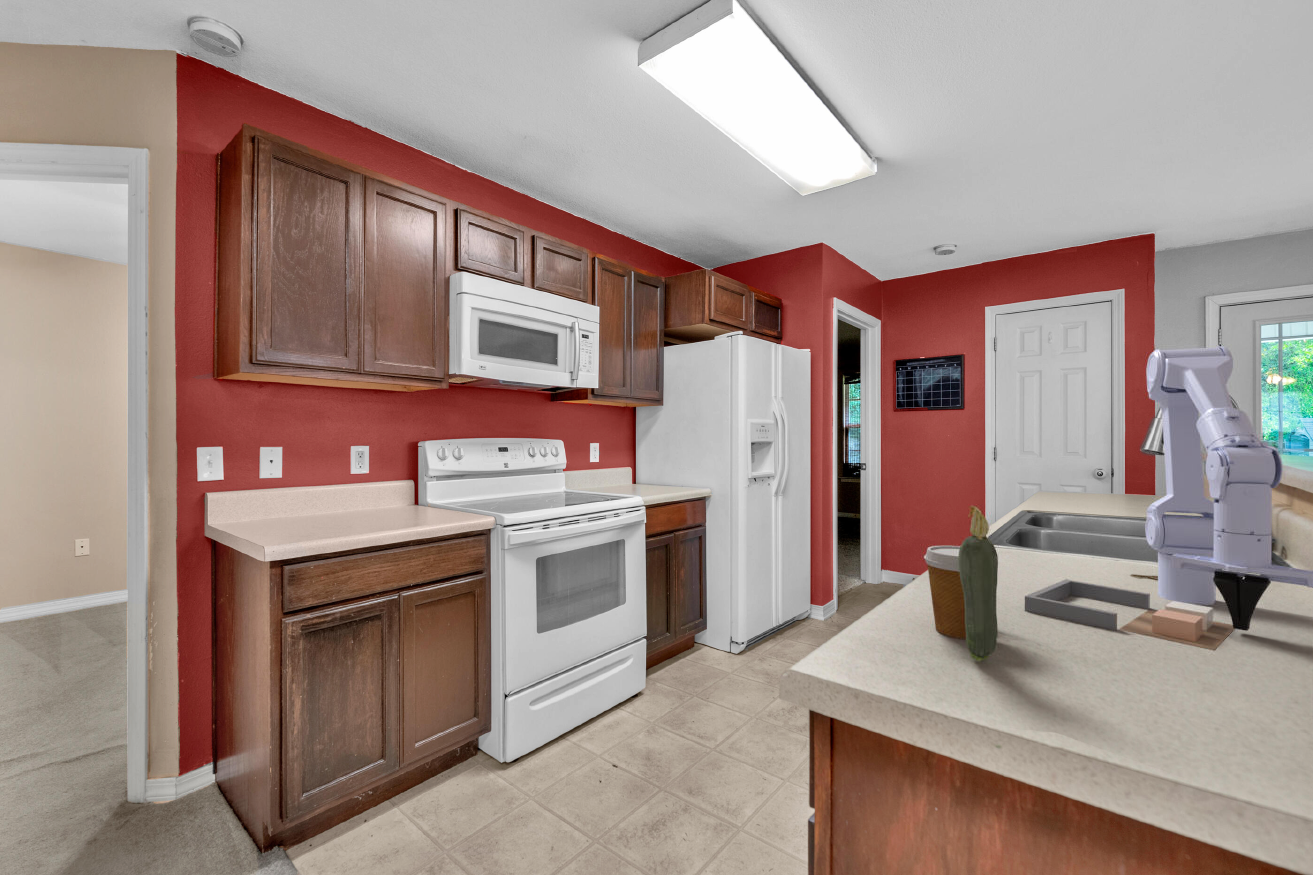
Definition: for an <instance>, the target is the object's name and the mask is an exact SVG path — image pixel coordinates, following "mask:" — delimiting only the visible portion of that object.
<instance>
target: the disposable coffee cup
mask: <svg viewBox="0 0 1313 875" xmlns="http://www.w3.org/2000/svg"><path fill="white" fill-rule="evenodd" d="M960 546H961V545H960ZM960 546H959V545H931V546H929V547H927V550H926V554H924V556H923V559H924V560H925V563H926V564H927V572H928V579H929V581H928V582H929V586H930V595H931V603H932V611H933V619H934V625H935V626H934V627H935V630H936V631H937V632H938V633H939V634H942V635H945V636H947V637H951V638H955V639H963V640H966V628H965V603H964V593H963V588H962V584H961V579H960V572H959V560H958V558H959V549H960Z"/></svg>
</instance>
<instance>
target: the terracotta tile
mask: <svg viewBox="0 0 1313 875" xmlns="http://www.w3.org/2000/svg"><path fill="white" fill-rule="evenodd" d="M1156 611H1157V612H1156V613H1154V614H1153V615H1152V632H1153V633H1158V634H1162V635H1167V636H1172V637H1177V638H1181V639H1186V640H1191V641H1196V640H1197V639H1198V638H1199V637H1200V636H1201V635H1202V617H1201V616H1196V615H1190V614H1185V613H1179V612H1174V611H1169V610H1165V609H1162V608H1160V609H1158V610H1156Z"/></svg>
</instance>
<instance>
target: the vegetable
mask: <svg viewBox="0 0 1313 875" xmlns="http://www.w3.org/2000/svg"><path fill="white" fill-rule="evenodd" d="M967 509H970V511H969V514H968V516H967V517H969V518H970V517H971V516H972V517H971V520H970V521H971V523H970V528H969V529H970V530H969V531H970V534H971V535H970V536H967V537H966V538H965V539H964V540H963V541H962V543H961V545H960V549H959V558H958V560H959V572H960V579H961V584H962V588H963V593H964V603H965V628H966V639H965V641H966V642H965V643H966V645H967V649H968V650H969V652H970V653H969V654H970V657H971V658H972V659H974V660H975V661H976V662H977V663H978V662H980V661H982V660H983V661H986V660H988V658H989V657H990V656H991V655H992V654H993V653H994V652H995V650H996V647H997V643H998V642H997V640H998V617H997V616H998V615H997V588H998V568H999V556H998V553H997V550H996V546H994V543H993V542H992V541H991V540H990V539H989V538H988V537H987V535H988V534H989V531H990V526H989V522H988V520H987V518H986V517H985V515H983V514H982V511H981V510H980V508H979V507H976V506H975V505H970V507H969V508H967Z"/></svg>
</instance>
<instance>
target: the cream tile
mask: <svg viewBox="0 0 1313 875" xmlns="http://www.w3.org/2000/svg"><path fill="white" fill-rule="evenodd" d="M1164 610H1169V611H1174V612H1179V613H1185V614H1190V615H1196V616H1201V617H1202V630H1204V631H1207V630H1208V629H1209V628H1210V627H1211V626H1212V625H1213V621H1214V607H1211V606H1210V607H1209V606H1206V605H1197V604H1188V603H1182V602H1177V601H1172V600H1171V602H1169V603H1167V604H1166V605H1165V606H1164Z"/></svg>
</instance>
